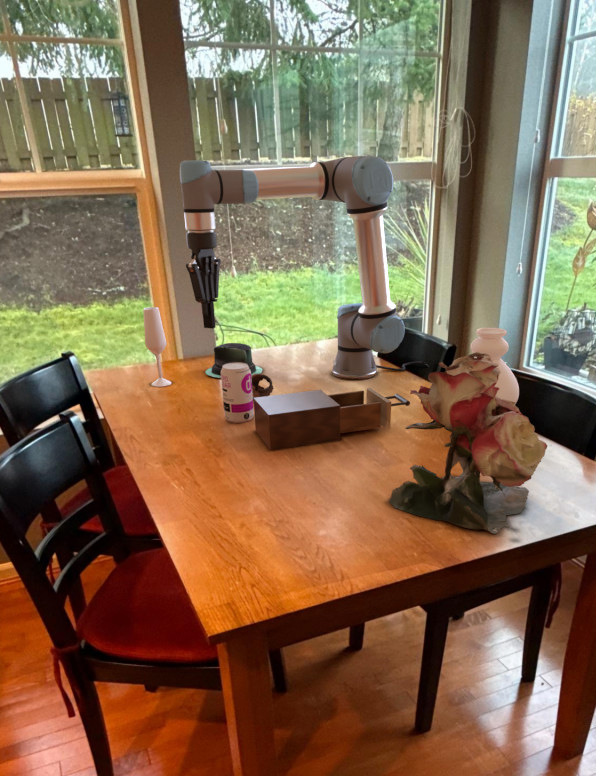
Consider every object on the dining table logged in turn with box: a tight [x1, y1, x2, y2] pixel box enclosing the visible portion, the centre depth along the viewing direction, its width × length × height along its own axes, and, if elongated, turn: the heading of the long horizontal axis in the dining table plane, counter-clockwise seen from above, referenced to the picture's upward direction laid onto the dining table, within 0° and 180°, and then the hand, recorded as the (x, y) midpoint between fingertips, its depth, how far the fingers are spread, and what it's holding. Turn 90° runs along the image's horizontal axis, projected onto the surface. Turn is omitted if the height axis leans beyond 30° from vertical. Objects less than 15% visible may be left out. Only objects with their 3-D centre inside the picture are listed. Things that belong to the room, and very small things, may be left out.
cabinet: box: [253, 389, 341, 451], centre depth 164 cm, size 19×15×9 cm
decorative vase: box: [470, 327, 520, 405], centre depth 165 cm, size 18×18×25 cm
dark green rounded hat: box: [204, 342, 263, 379], centre depth 220 cm, size 15×19×20 cm
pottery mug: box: [251, 373, 275, 402], centre depth 193 cm, size 12×10×8 cm
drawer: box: [327, 387, 411, 434], centre depth 169 cm, size 25×13×7 cm, turn 110°
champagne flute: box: [143, 306, 172, 387], centre depth 204 cm, size 7×7×24 cm
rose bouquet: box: [388, 352, 548, 535], centre depth 125 cm, size 26×29×30 cm
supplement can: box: [220, 363, 255, 424], centre depth 174 cm, size 8×8×15 cm
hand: (209, 327), depth 170 cm, fingers closed
